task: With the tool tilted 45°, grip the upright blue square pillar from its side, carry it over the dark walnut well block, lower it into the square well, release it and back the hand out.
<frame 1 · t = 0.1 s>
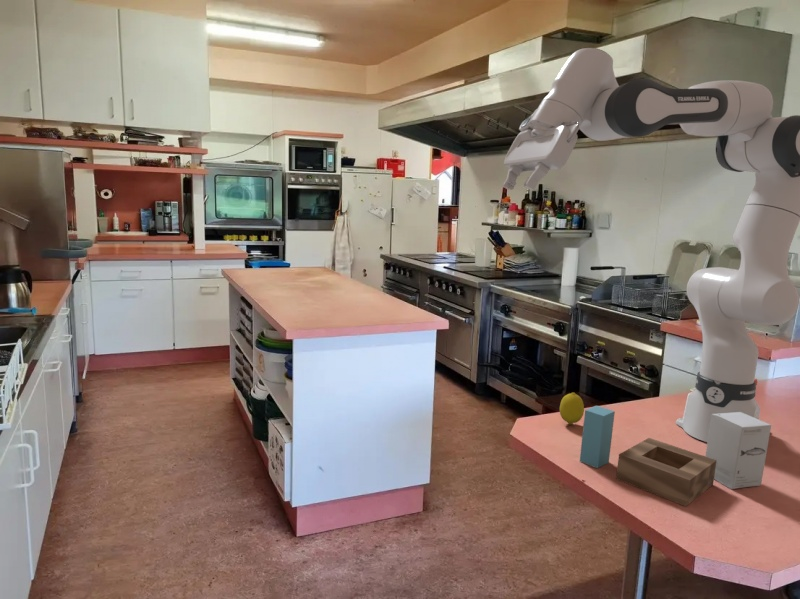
hand: (517, 188, 112), 54 cm above the countertop, tool tilted 30°, fingers open, 8 cm apart
supplement box: (731, 480, 113), on the countertop
lemon: (570, 425, 137), on the countertop
blue square pillar: (594, 461, 118), on the countertop
well block: (664, 481, 111), on the countertop
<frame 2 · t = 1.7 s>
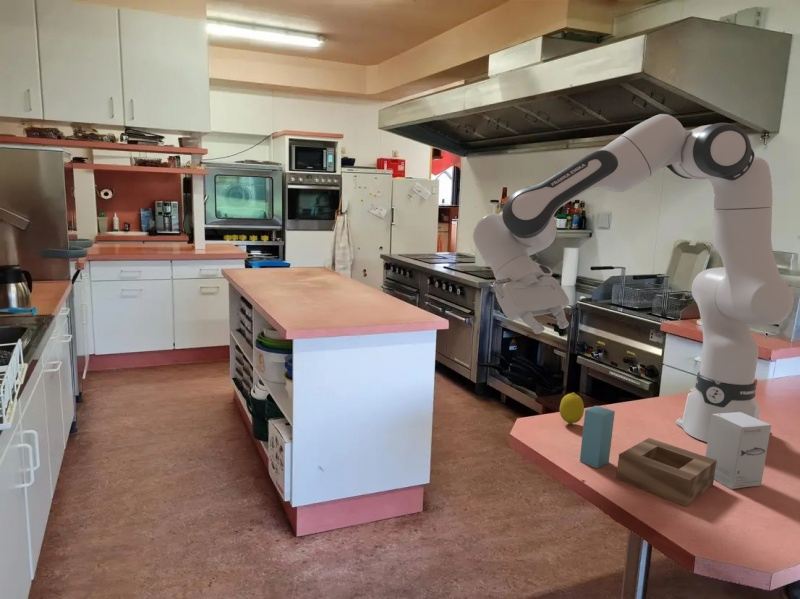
hand: (553, 329, 123), 25 cm above the countertop, tool tilted 45°, fingers open, 8 cm apart
nothing on the countertop moved.
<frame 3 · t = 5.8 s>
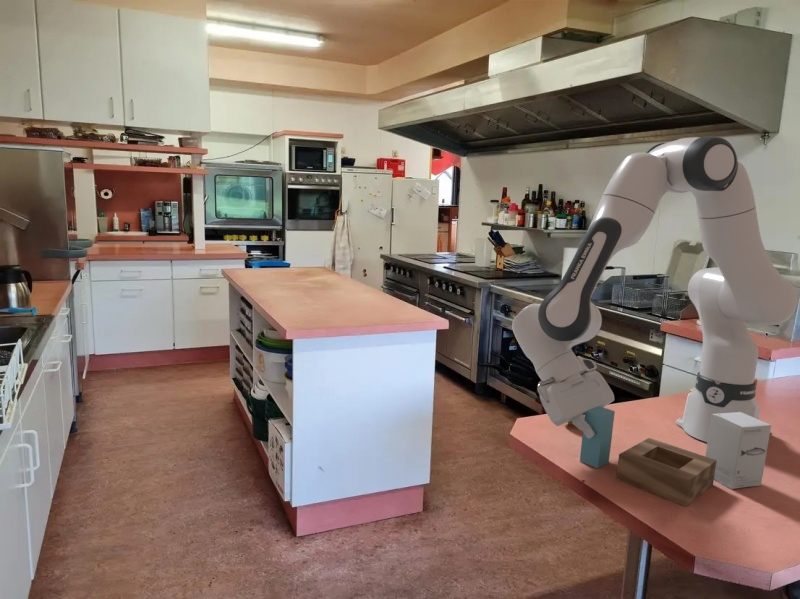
hand: (600, 433, 116), 6 cm above the countertop, tool tilted 45°, fingers closed on blue square pillar, 4 cm apart
blue square pillar: (594, 461, 118), on the countertop, touching gripper
everything else where it was.
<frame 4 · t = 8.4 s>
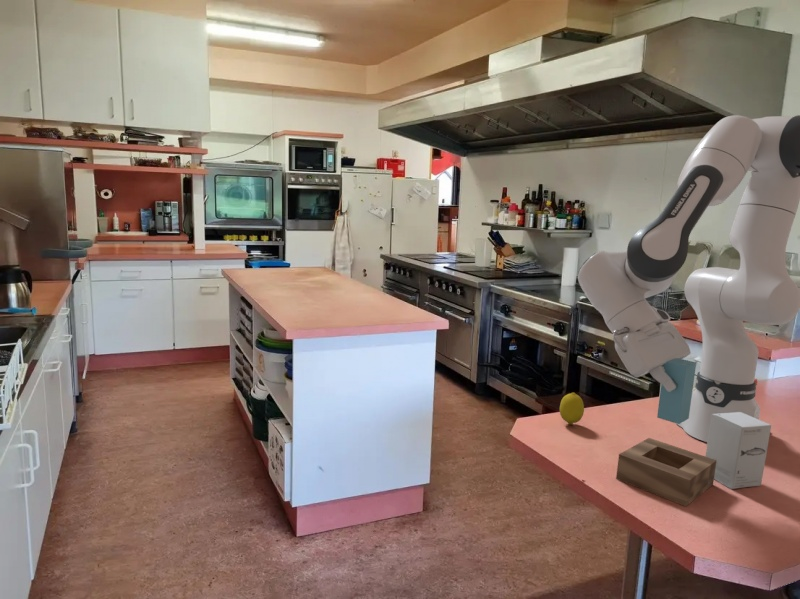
hand: (680, 386, 107), 19 cm above the countertop, tool tilted 45°, fingers closed on blue square pillar, 4 cm apart
blue square pillar: (672, 418, 109), point 13 cm above the countertop, touching gripper
everything else where it was.
when the fingers open (9 cm above the countertop, at t = 11.2 s): blue square pillar drops 1 cm, resting on well block.
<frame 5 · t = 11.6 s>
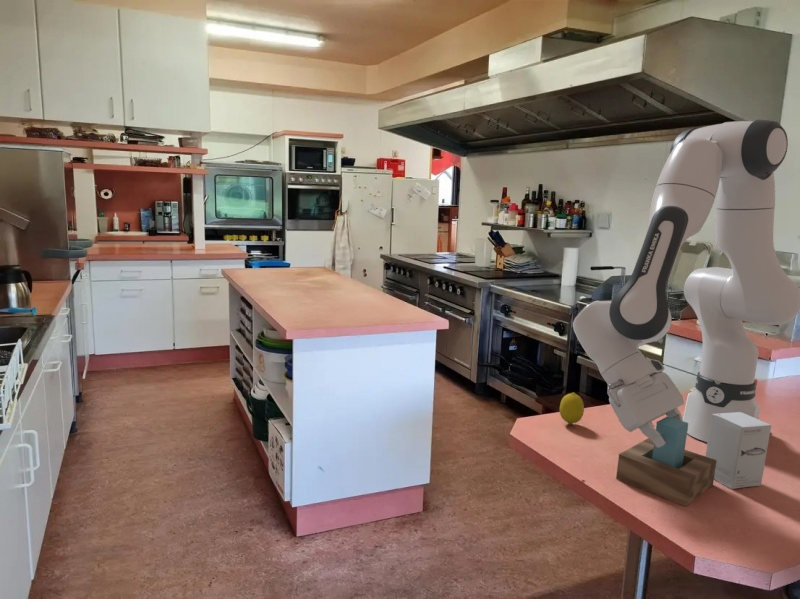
hand: (673, 439, 109), 9 cm above the countertop, tool tilted 45°, fingers open, 8 cm apart
blue square pillar: (665, 476, 110), point 1 cm above the countertop, touching well block
everything else where it was.
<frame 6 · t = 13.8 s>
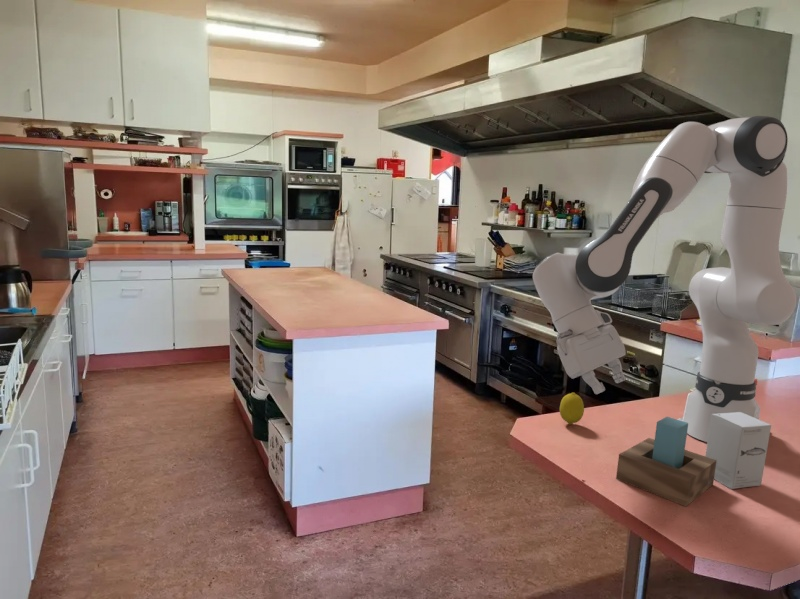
hand: (611, 387, 118), 15 cm above the countertop, tool tilted 35°, fingers open, 8 cm apart
nothing on the countertop moved.
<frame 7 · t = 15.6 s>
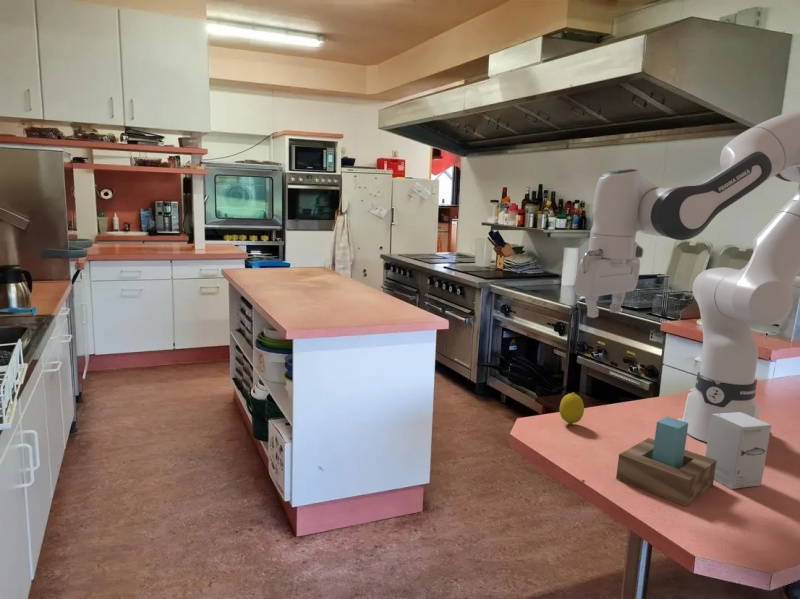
hand: (603, 314, 121), 29 cm above the countertop, tool pointing down, fingers open, 8 cm apart
nothing on the countertop moved.
at the end: blue square pillar 0.1 cm off-centre on the well block, point 1.0 cm above the well block's base; blue square pillar tilted 0°; the gripper is holding nothing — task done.
